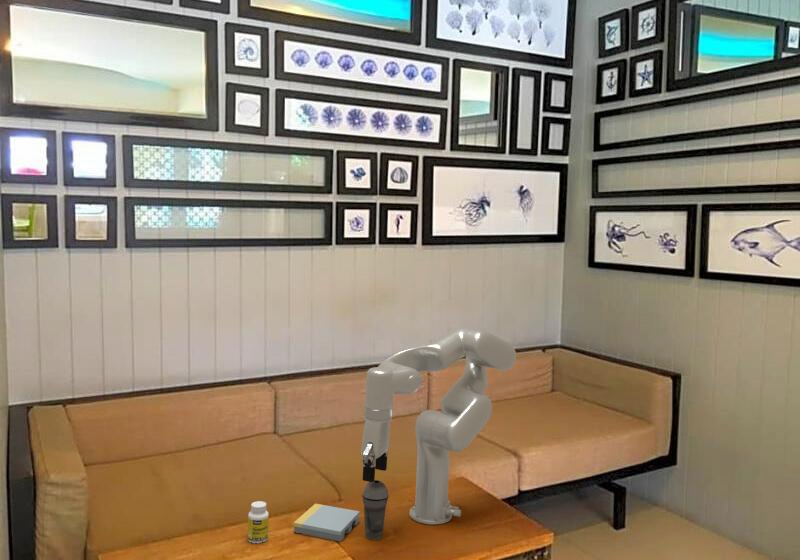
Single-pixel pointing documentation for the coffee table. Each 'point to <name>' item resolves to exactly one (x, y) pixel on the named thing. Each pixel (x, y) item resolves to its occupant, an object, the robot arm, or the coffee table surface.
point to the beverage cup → (374, 508)
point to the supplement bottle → (258, 523)
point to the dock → (326, 522)
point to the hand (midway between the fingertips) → (374, 475)
